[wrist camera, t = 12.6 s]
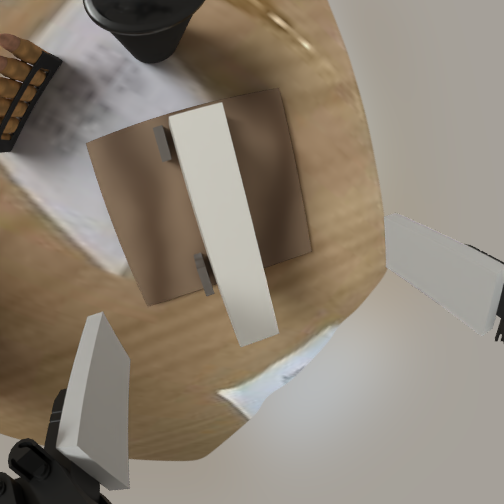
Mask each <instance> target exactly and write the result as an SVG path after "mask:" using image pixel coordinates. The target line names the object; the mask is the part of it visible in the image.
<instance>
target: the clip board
mask: <svg viewBox="0 0 504 504" xmlns="http://www.w3.org/2000/svg"><path fill="white" fill-rule="evenodd" d="M221 102H222V104H223V108H224V111H225V115H226V119H227V123H228V127H229V131H230V135H231V139H232V143H233V147H234V151H235V155H236V159H237V163H238V167H239V171H240V175H241V179H242V183H243V187H244V191H245V195H246V199H247V203H248V207H249V211H250V215H251V219H252V223H253V227H254V231H255V236H256V240H257V244H258V248H259V252H260V256H261V260H262V264H263V268H266V267H269V266H272V265H275V264H277V263H280V262H283V261H286V260H289V259H292V258H295V257H298V256H301V255H303V254H306V253H309V252H312V251H311V245H310V239H309V233H308V227H307V221H306V216H305V210H304V205H303V199H302V194H301V189H300V183H299V178H298V173H297V168H296V163H295V158H294V153H293V149H292V144H291V139H290V134H289V130H288V125H287V121H286V116H285V112H284V108H283V103H282V99H281V95H280V91H279V88H276V89H270V90H265V91H259V92H254V93H249V94H244V95H239V96H235V97H230V98H226V99H222V100H217V101H213V102H209V103H205V104H201V105H197V106H194V107H190V108H186V109H183V110H179V111H176V112H173V113H169V114H166V115H163V116H159V117H156V118H153V119H150V120H147V121H144V122H141V123H138V124H135V125H132V126H130V127H127V128H124V129H121V130H119V131H116V132H113V133H111V134H108V135H106V136H103V137H100V138H98V139H95V140H93V141H91V142H88V143H86V145H87V149H88V152H89V155H90V159H91V162H92V165H93V168H94V172H95V175H96V178H97V181H98V184H99V187H100V190H101V193H102V196H103V199H104V201H105V204H106V207H107V210H108V213H109V215H110V218H111V221H112V223H113V226H114V229H115V231H116V234H117V236H118V239H119V242H120V244H121V247H122V249H123V252H124V254H125V256H126V259H127V261H128V264H129V266H130V268H131V271H132V273H133V275H134V278H135V280H136V282H137V284H138V287H139V289H140V291H141V293H142V295H143V298H144V300H145V302H146V304H147V306H151V305H155V304H158V303H161V302H164V301H167V300H170V299H173V298H176V297H179V296H182V295H185V294H188V293H191V292H194V291H197V290H200V289H203V288H204V291H205V293H206V296H209V295H212V294H214V291H213V287H212V285H216V284H217V282H216V279H215V277H214V274H213V271H212V268H211V264H210V261H209V258H208V255H207V252H206V249H205V246H204V243H203V240H202V236H201V233H200V230H199V227H198V224H197V220H196V217H195V214H194V211H193V207H192V204H191V201H190V197H189V194H188V191H187V187H186V184H185V181H184V177H183V174H182V170H181V167H180V163H179V160H178V156H177V153H176V149H175V146H174V142H173V138H172V135H171V131H170V128H169V116H173V115H176V114H179V113H183V112H186V111H190V110H194V109H197V108H201V107H205V106H209V105H213V104H217V103H221Z"/></svg>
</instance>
